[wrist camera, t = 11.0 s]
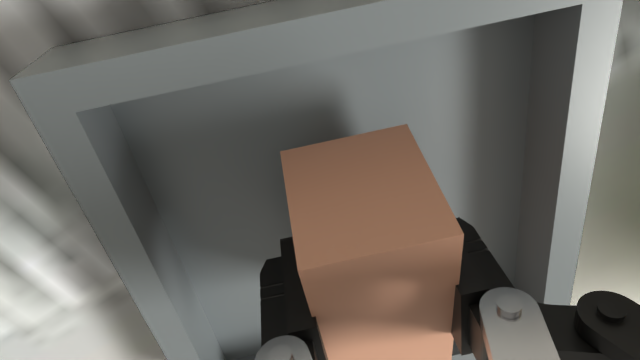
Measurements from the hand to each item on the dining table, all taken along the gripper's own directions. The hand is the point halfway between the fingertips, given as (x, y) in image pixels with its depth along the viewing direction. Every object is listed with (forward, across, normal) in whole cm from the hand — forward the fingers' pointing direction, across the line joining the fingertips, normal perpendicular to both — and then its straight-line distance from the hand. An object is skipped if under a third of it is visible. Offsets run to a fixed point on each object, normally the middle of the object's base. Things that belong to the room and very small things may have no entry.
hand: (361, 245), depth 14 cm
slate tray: (+2, 0, 0) cm, 2 cm away
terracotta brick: (+1, 0, -1) cm, 1 cm away
